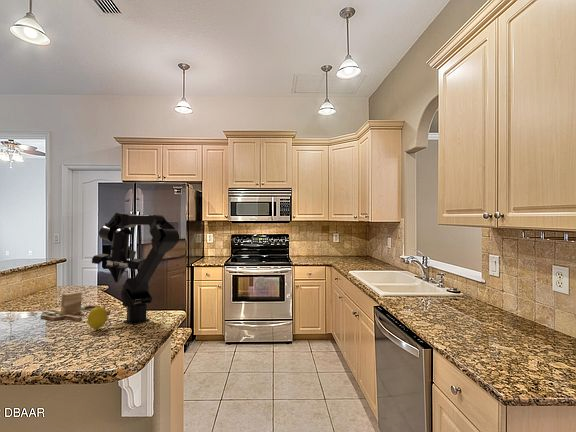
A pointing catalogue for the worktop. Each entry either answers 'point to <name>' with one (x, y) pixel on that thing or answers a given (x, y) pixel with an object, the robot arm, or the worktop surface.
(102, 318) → the lemon
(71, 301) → the oak bookend
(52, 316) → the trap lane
